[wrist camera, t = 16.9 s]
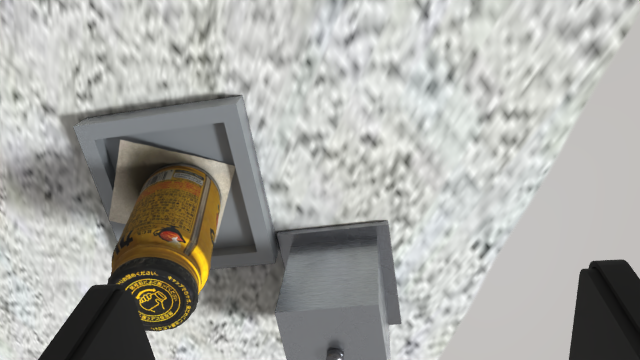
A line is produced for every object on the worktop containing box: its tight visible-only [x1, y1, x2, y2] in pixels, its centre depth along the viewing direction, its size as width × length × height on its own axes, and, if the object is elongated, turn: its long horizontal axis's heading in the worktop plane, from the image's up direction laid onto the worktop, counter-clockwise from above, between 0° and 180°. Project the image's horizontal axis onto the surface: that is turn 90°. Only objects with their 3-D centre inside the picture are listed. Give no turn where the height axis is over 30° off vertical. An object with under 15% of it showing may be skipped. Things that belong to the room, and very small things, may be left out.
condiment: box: [108, 140, 235, 331], centre depth 36 cm, size 7×8×12 cm
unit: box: [275, 221, 401, 360], centre depth 40 cm, size 10×9×10 cm
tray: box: [73, 96, 279, 269], centre depth 41 cm, size 13×12×2 cm
